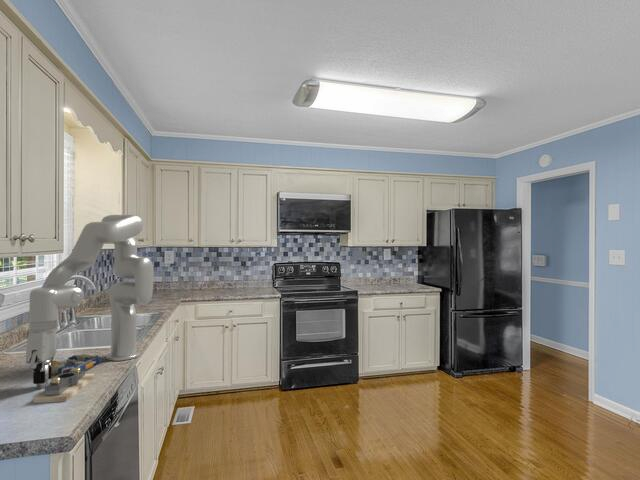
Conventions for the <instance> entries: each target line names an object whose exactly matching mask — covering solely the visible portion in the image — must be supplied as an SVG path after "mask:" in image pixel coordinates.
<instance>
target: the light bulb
mask: <svg viewBox="0 0 640 480" xmlns="http://www.w3.org/2000/svg"><path fill="white" fill-rule="evenodd" d="M39 361H40V360H37V362H39ZM50 362H51V359H48V360H46V361H45V362H44V371H45V383H43V384H35V385H36V386H35V388H36V390H45V386H46V385H47V384H49V379H48V378H49V363H50ZM37 365H40V366H41V364H37Z"/></svg>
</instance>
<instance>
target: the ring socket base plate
mask: <svg viewBox="0 0 640 480" xmlns="http://www.w3.org/2000/svg"><path fill="white" fill-rule="evenodd" d="M94 378H95V373H86V371H80V367H77V368H73V369H72V372H68V373H63V374H56V375H55V376H53V378H52V377H51V379H50V382H48V384H47V385H46V386H45V388H44V389H43V391H41V392H40V393H38V394H37V395H35V396H34V397H33V404H40V403H42V404H43V403H53V402H55V403H57V402H67V401H69V400H70V399H71V398H72V397H73V396H74V395H76V394H77V393H78V392H79V391H80V390H81V389H83V388H84V387H85V386H86V385H88V383H89V382H91V381H92V380H93V379H94Z"/></svg>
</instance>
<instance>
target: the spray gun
mask: <svg viewBox="0 0 640 480" xmlns="http://www.w3.org/2000/svg"><path fill="white" fill-rule="evenodd" d="M102 360H103V357H102V356H99V355H98V354H95V355H89V354H83V353H82V354H76V355H72V356H70V357H68V358H67V359H66V361H65V362H66V363H67V365H65V364H64V363H62V362H60V361H57V360H52V366H51V367H52V374H53V375H59V374H63V373H68V372H72V369H73V368H77V367H80V371H85V372H87V371H88V370H90V369H92V368H94V367H96V366H97V365H99V364H100V363H101V362H102Z"/></svg>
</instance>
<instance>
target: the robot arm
mask: <svg viewBox="0 0 640 480" xmlns="http://www.w3.org/2000/svg"><path fill="white" fill-rule="evenodd" d="M143 228H144V221H143V220H142V218H141V217H140V216H138V215H136V214H110V215H106V216H104V217H103V218H102V219H101V221H92V222H89V223H86V224H85V225H84V226H83V229H82V230H81V232H80V234H79V236H78V238H77V241H76V243H75V245H74V246H73V249H72V250H71V252H70V254H69V256H67V257H66V258H65V259H64V260H63V261H61V262H60V263H59V264H58V265H56V266H55V267H54V268H53V269H52V270H51V271H50V272H49V274H48V275H47V277H46V278H45V280H44V282H43V284H42V287H41V288H35V289H32V290H30V293H29V305H28V306H29V312H28V313H29V317H28V319H29V320H28V322H29V323H28V336H27V341H26V349H25V363H26V364H29V366H28V367H29V368H30V369H32V373H33V374H32V375H33V376H32V377H33V379H32V381H33V384H34V385H36V384H43V383H45V371H44V362H45V361H46V360H48V359H51V362H50V363H49V378H48V380H51V379H52V367H51V366H52V361H54V357H55V355H57V351H58V340H57V339H58V337H57V329H58V309H59V308H73V307H77V306H78V305H80V304H82V302H83V301H84V298H85V293H84V290H82V288H80V287H78V286H76V285H67V284H66V283H67V282H68V281H69V280H70V279H71V278H72V277H73V276H75V275H76V274H78V273H80V272H83V271H85V270H86V269H89V268H91V267H93V266H94V265H95V264H96V262H97V260H98V257H99V255H100V253H101V251H102V249H103V247H104V245H108V244H111V245H113V246H114V259H113V260H114V261H113V262H114V263H113V271H114V275H115V276H116V277H117V278H118V279H126V280H127V279H129V280H130V279H131V280H134V281H118V282H115V283H114V284H112V285H111V287H110V288H109V290H108V299H109V303H110V312H111V316H110V317H111V318H110V321H111V323H110V325H111V326H110V330H111V331H110V352H109V353H107V354H106V355H105V358H106V360H108V361H114V362H115V361H118V362H120V361H127V360H132V359H135V358H137V357H140V356H141V351H140V350H137V320H138V319H137V317H138V315H137V309H136V308H135V306H145V305H147V304H148V303H150V302H151V300H152V299H153V292H154V274H155V273H154V272H155V271H154V270H155V269H154V264H153V262H152V260H151V259H150V258H149V257H146V256H141V255H139V256H138V244H137V241H136V239H135V237H136V236H138V235H140V234H141V232H142V231H143ZM37 360H40V361H39V362H37ZM37 364H41V366H40V365H37Z"/></svg>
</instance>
